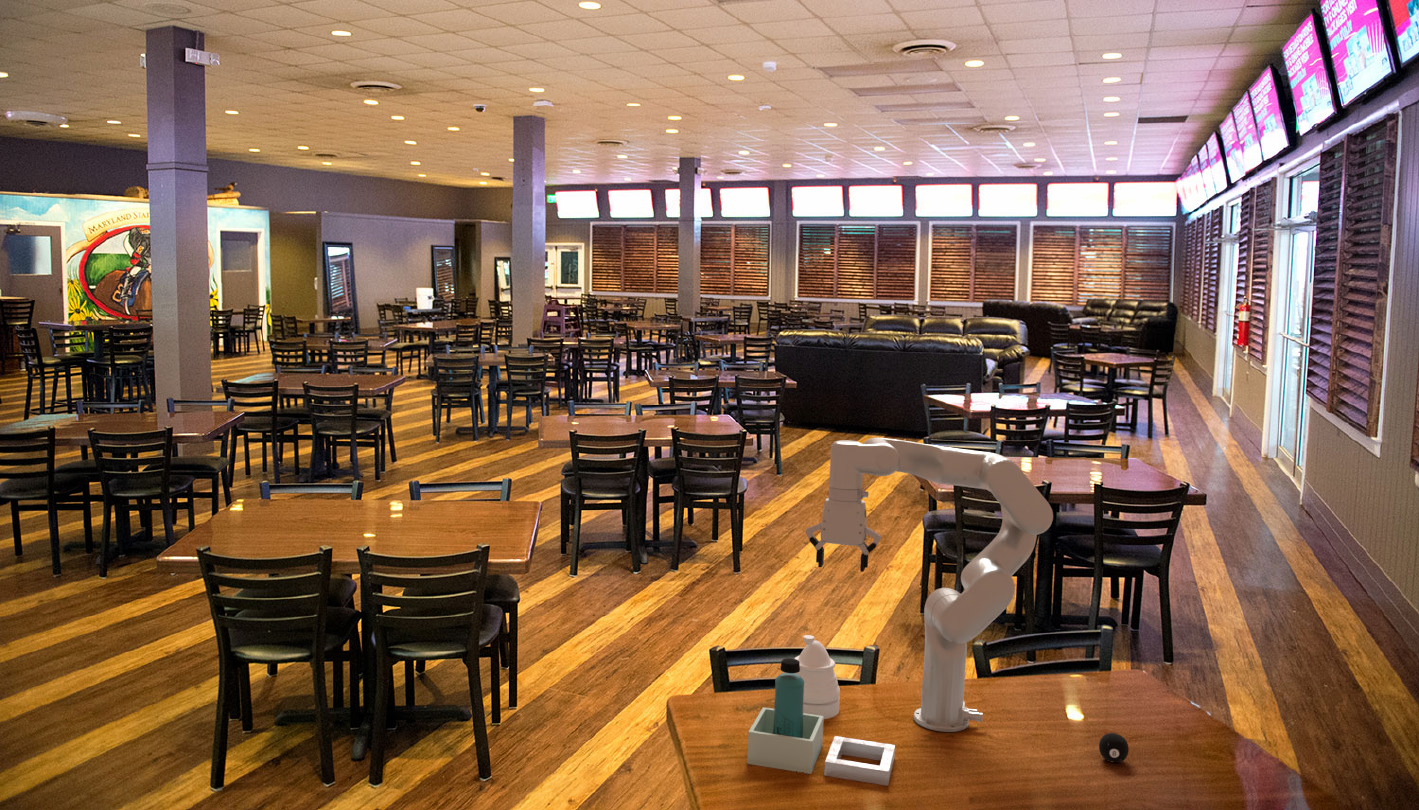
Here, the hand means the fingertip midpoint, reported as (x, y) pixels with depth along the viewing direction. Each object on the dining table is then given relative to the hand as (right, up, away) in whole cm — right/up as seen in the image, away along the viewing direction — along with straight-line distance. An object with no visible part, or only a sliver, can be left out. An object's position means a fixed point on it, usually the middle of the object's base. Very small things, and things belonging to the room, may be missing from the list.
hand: (841, 568), depth 235 cm
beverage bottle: (-14, -37, -15) cm, 42 cm away
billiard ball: (+57, -40, -12) cm, 71 cm away
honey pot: (-6, -36, +10) cm, 37 cm away
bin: (-14, -38, -15) cm, 43 cm away
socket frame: (+1, -39, -20) cm, 43 cm away
